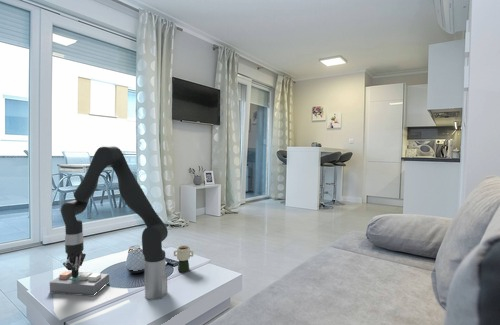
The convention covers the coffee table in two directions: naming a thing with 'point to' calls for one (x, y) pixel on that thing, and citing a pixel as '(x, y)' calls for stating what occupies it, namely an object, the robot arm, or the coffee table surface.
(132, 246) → the soda can
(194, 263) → the coffee table surface
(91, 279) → the block
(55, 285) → the keypad board
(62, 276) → the terracotta key
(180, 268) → the character mug
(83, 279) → the grey key
